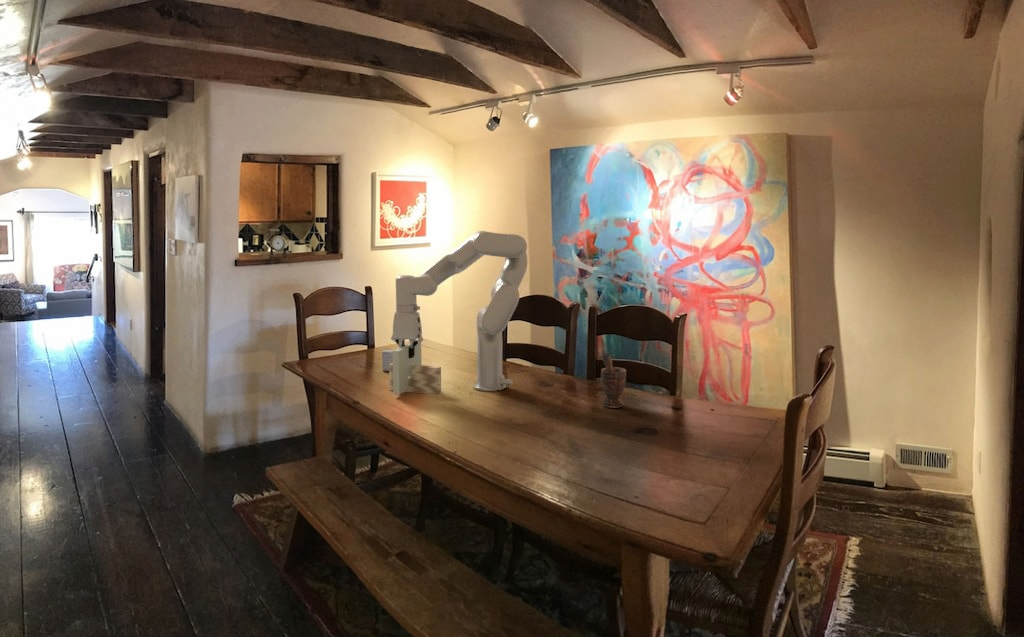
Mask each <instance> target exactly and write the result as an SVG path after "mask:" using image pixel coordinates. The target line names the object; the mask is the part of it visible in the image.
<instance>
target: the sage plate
mask: <svg viewBox="0 0 1024 637" xmlns="http://www.w3.org/2000/svg"><path fill="white" fill-rule="evenodd" d="M409 348H410V342H409V343H408V344H405V346H402V347H397V348H395V349H392V350H393V351H392V356H393V391H392V392H393V395H401V394H403V393H405V392H404V391H406V390H408V377H411V378H412V366H414V365H423V364H422V342H420V343H418V344H417V345H416V346H415V355H414V357H413V358H409Z"/></svg>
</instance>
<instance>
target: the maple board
mask: <svg viewBox="0 0 1024 637" xmlns="http://www.w3.org/2000/svg"><path fill="white" fill-rule="evenodd" d="M388 373H389V375H388V376H389V391H392V390H393V363H391V364H389V372H388ZM405 392H406V393H418V394H428V395H440V394H442V367H441V366H434V365H425V364H424V365H423V364H422V365H414V366H412V378H411V377H408V390H406V391H404V392H403V393H405Z"/></svg>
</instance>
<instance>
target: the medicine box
mask: <svg viewBox="0 0 1024 637" xmlns="http://www.w3.org/2000/svg"><path fill="white" fill-rule="evenodd" d="M393 350H394V349H384V350H383V351H382V352H381V360H382V372H383V371H389V364H391V363H393V356H392V351H393Z"/></svg>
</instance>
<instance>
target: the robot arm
mask: <svg viewBox="0 0 1024 637" xmlns="http://www.w3.org/2000/svg"><path fill="white" fill-rule="evenodd" d="M527 249H528V243H527V241H526V239H525V238H524V237H523V236H522V235H519V234H514V233H510V234H509V233H499V232H492V231H486V230H485V231H484V230H479V231H477V232H475V233H474V234H472V235H471V236H469V237H468V238H467V239H466V240H464V241H463V242H462V243H460V244H459V245H458V246H456V248H454V249H453V250H451V251H450V252H448V253H447V254H446V255H445V256H443V257H442V258H441V259H440V260H438V261H436V262H435V263H434V264H433V265H431V266H430V267H429V268H428V269H426V270H425V271H423V272H422V273H420V275H418V276H414V275H408V274H407V275H406V274H405V275H398V276H396V278H395V310H396V311H395V312H394V314H393V315H394V316H393V322H392V335H391V338H390V340H392V341H393V342H395V343H396V344H397V345H398V348H400V347H402V346H405V345H406V343H405V342H406V340H409V343H410V348H409V358H413V357H414V355H415V346H416V345H417V344H418V343H420V342H421V343H422V342H423V341H424V337H423V330H422V329H423V328H422V322H421V321H422V320H421V316H420V312H418V311H420V310H421V306H419V305H418V304H417V302H418V301H417V296H425V297H430V296H432V295H434V294H435V293H436V292H437V290H438V286H440V285H441V284H443V282H445V281H447V280H448V279H449V278H451V277H453V276H454V275H457V274H458V275H459V274H460V273H462V272H464V271H465V270H466V269H468V268H469V267H471V266H472V265H473V264H474V263H476V262H477V261H478V260H480V259H481V258H482V257H484V256H490V257H498V258H505V259H504V265H503V267H502V269H501V271H500V274H499V275H498V278H497V280H496V281H495V283H494V285H493V287H492V288H491V291H490V296H491V300H490V302H489V304H488V305H486V306H483V307H482V308H481V309H480V310H479V311H478V313H477V314H476V333H477V334H476V335H477V337H476V338H477V339H476V340H477V382H474V384H473V388H474V389H475V390H477V391H482V392H496V391H497V390H499V391H502V389H503V390H505V389H506V388H507V386H512V385H513V380H512V379H511V378H505V374H503V331H504V330H505V329H506V327H507V326H508V324H509V322H510V320H511V318H512V316H513V314H514V312H515V311H516V308H517V307H518V304H519V300H520V291H519V287H520V286H521V284H522V281H523V279H524V277H525V275H526V272H527V268H528V254H527ZM504 388H505V389H504Z"/></svg>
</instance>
